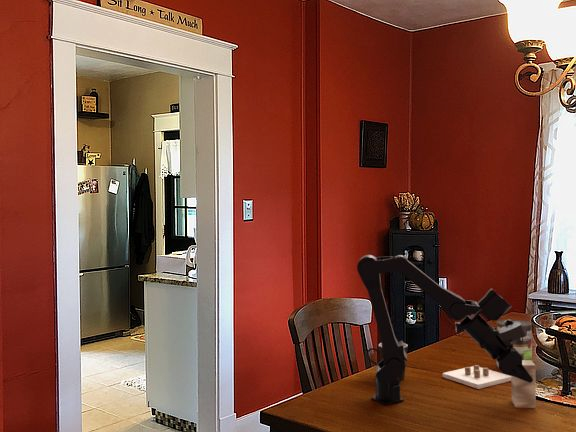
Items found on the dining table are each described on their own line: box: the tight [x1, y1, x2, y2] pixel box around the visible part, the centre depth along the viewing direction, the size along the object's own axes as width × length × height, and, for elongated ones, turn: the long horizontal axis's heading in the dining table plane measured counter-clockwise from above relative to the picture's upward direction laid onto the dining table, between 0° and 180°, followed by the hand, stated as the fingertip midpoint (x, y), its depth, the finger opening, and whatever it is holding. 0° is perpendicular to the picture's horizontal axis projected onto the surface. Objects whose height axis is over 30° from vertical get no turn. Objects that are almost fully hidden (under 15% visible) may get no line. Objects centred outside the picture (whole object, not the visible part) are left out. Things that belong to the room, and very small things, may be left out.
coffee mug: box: [366, 342, 409, 382], centre depth 192 cm, size 12×9×10 cm
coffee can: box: [496, 319, 533, 362], centre depth 199 cm, size 10×10×14 cm
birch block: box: [511, 360, 537, 409], centre depth 165 cm, size 5×5×11 cm
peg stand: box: [442, 364, 512, 390], centre depth 188 cm, size 14×14×3 cm
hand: (528, 376), depth 165 cm, fingers open, 9 cm apart
